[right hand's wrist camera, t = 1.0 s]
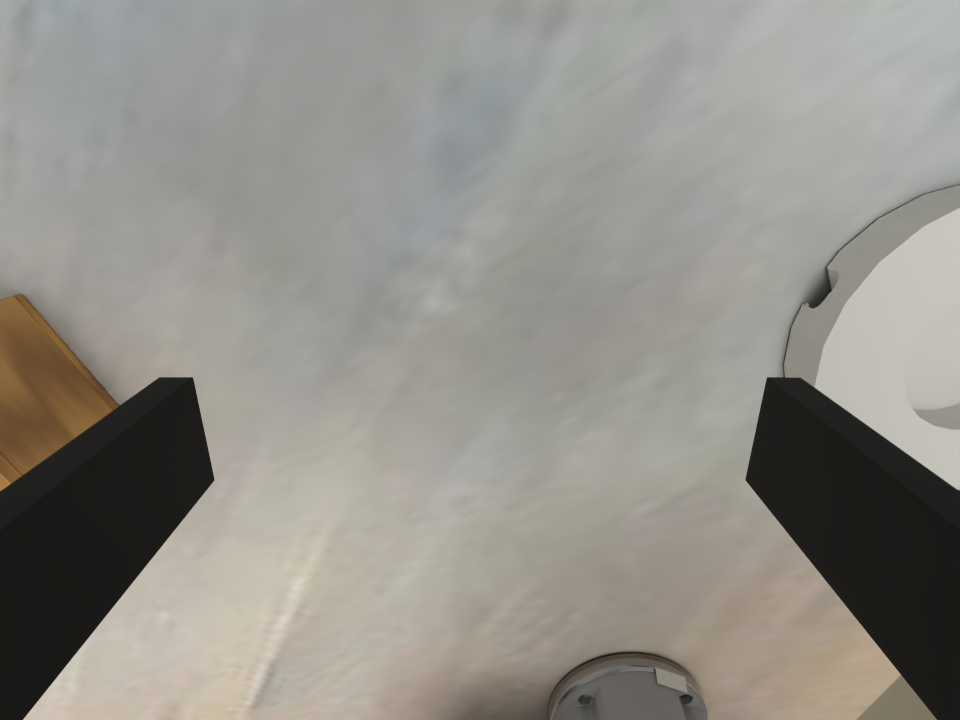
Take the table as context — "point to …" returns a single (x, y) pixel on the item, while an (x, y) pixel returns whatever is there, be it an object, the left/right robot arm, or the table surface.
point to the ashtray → (893, 331)
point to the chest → (41, 388)
